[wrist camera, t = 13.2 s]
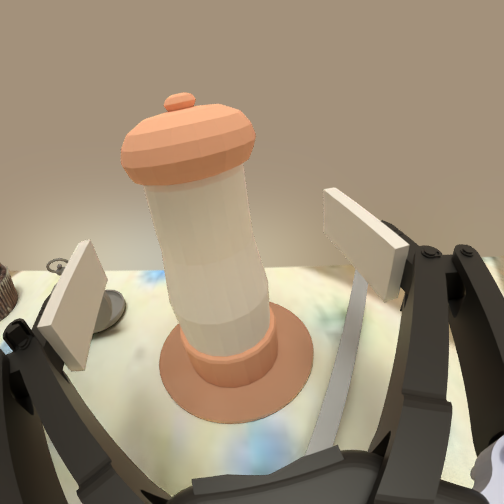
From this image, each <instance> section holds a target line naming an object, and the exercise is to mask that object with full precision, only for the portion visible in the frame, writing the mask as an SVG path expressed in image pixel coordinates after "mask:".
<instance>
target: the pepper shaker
mask: <svg viewBox="0 0 504 504" xmlns="http://www.w3.org/2000/svg"><path fill="white" fill-rule="evenodd" d="M195 100H196V99H195V97H194V96H193V95H192V94H190V93H186V92H184V93H179V94H175V95H171V96H170V97H168V98H167V99H166V101H165V103H164V107H165V108H166V110H167V111H168V112H166V113H162V114H159V115H157V116H153V117H150V118H148V119H145V120H143V121H141V122H140V123H139V124H138V125H137V126H136V127H135V128H133V129H132V130H131V131H130V132H129V133H128V134H127V135H126V137H125V140H124V143H123V145H122V148H121V164H122V166H123V168H124V169H125V171H126V173H127V174H128V176H129V177H130V178H131V179H132V180H133V182H135V183H136V184H140V185H143V188H144V192H145V196H146V199H147V203H148V207H149V211H150V214H151V218H152V221H153V225H154V228H155V231H156V235H157V238H158V241H159V244H160V248H161V251H162V258H163V264H164V271H165V277H166V283H167V289H168V295H169V300H170V304H171V306H172V308H173V311H174V313H175V315H176V317H177V320H178V322H179V324H180V326H181V327H180V335H181V341H182V344H183V346H184V348H185V350H186V352H187V355H188V357H189V359H190V361H191V363H192V365H193V367H194V369H195V371H196V372H197V374H198V375H199V376H200V377H201V378H203V379H204V380H205V381H206V382H208V383H211V384H213V385H216V386H219V387H231V388H236V387H240V386H245V385H249V384H251V383H253V382H255V381H257V380H259V379H261V378H262V377H264V376H265V375H266V373H267V372H268V371H269V370H270V369H271V368H272V367H273V365H274V363H275V361H276V358H277V355H278V339H277V327H276V318H275V315H274V313H273V310H272V308H271V307H270V306H269V291H268V280H267V277H266V273H265V270H264V267H263V264H262V260H261V257H260V254H259V251H258V248H257V245H256V241H255V238H254V235H253V231H252V223H251V216H250V210H249V202H248V194H247V187H246V180H245V173H244V165H243V163H244V162H245V161H247V160H248V159H249V157H250V155H251V152H252V149H253V147H254V142H255V137H256V134H255V131H254V129H253V126H252V124H251V122H250V121H249V119H247V117H246V116H245V115H244V114H243V113H242V112H241V111H240V110H237V109H234V108H231V107H228V106H224V105H221V104H211V105H201V106H194V104H195Z"/></svg>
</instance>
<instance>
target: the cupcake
mask: <svg viewBox="0 0 504 504" xmlns="http://www.w3.org/2000/svg"><path fill="white" fill-rule="evenodd" d="M17 301H18V295H17V292H16V290H15V287H14V284H13V282H12V279H11V276H10V273H9V269H8V267H7V266H3V265H2V264H0V321H1V320H2V319H4V318H5V317H6V316H7V315H8V314H9V313H10V312H11V311H12V310H13V308H14V307H15V305H16V304H17Z"/></svg>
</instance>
